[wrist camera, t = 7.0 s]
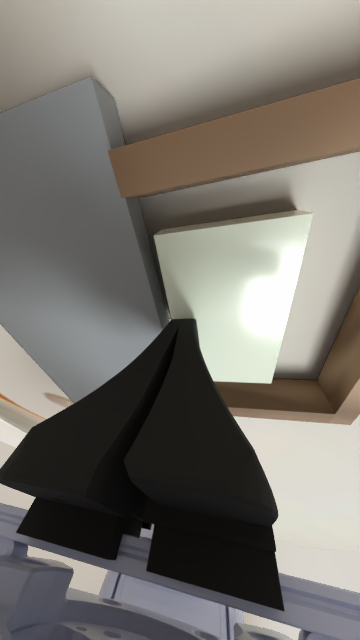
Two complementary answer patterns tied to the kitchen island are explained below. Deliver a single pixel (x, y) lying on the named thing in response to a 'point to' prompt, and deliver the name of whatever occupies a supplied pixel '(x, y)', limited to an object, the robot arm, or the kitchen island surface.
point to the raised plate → (73, 241)
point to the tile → (235, 287)
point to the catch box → (249, 158)
